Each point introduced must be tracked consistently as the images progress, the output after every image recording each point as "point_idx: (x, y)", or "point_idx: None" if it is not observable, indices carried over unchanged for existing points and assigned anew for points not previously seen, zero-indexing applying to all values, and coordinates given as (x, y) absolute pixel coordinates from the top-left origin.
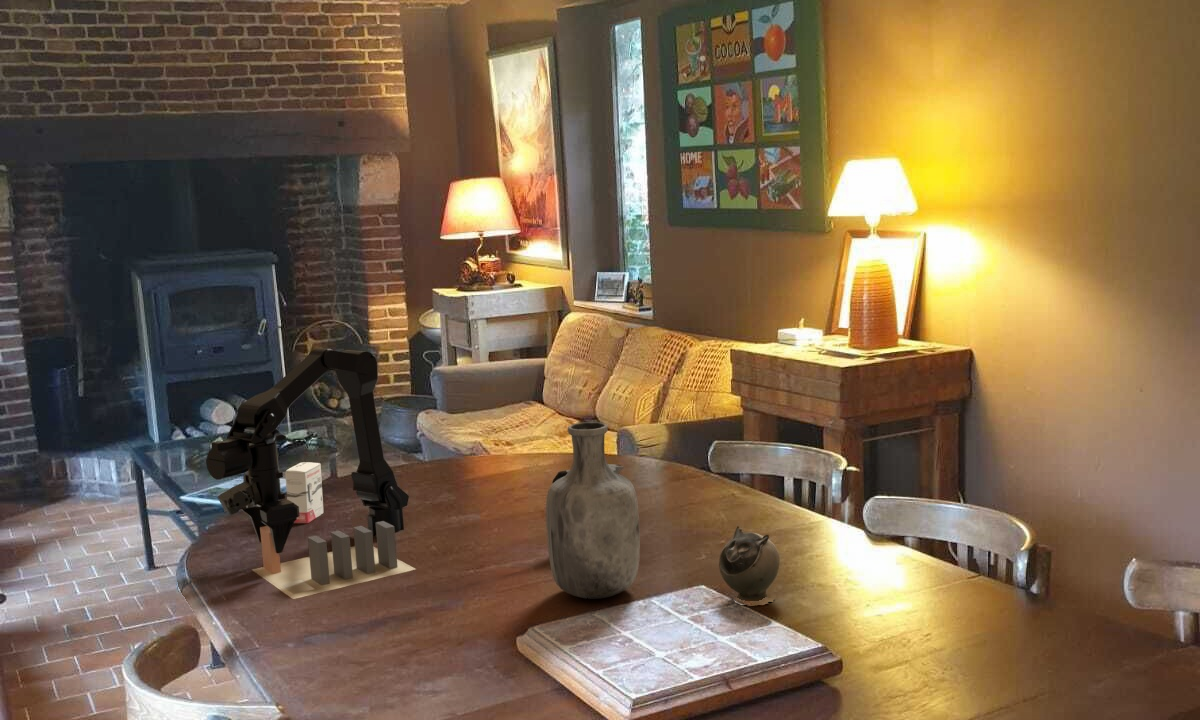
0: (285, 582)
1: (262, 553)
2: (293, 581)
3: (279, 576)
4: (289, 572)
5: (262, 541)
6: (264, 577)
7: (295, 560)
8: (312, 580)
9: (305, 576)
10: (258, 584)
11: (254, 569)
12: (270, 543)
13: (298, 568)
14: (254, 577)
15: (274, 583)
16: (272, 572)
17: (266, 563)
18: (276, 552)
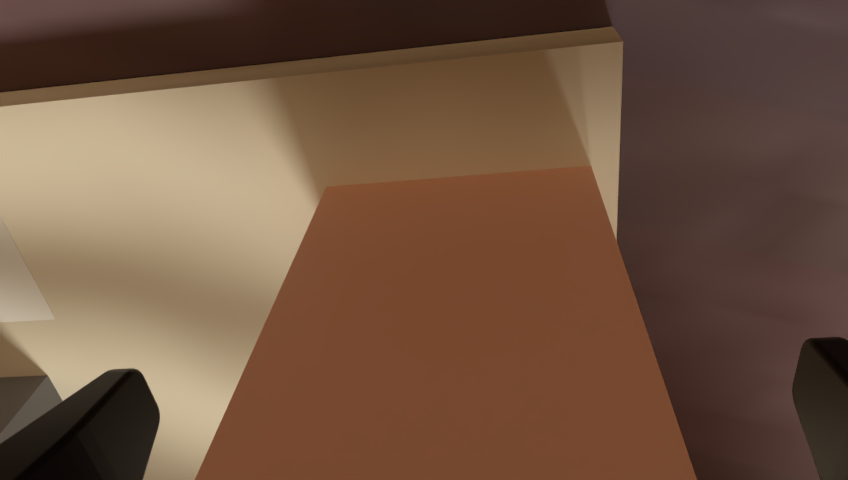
0: (17, 213)
1: (616, 250)
2: (23, 268)
3: (218, 215)
4: None
5: (597, 374)
6: (251, 94)
7: None
8: (8, 371)
9: (124, 362)
10: (249, 9)
11: (605, 70)
12: (219, 429)
13: None
14: (507, 27)
15: (15, 129)
16: (327, 192)
17: (486, 207)
18: (104, 374)
